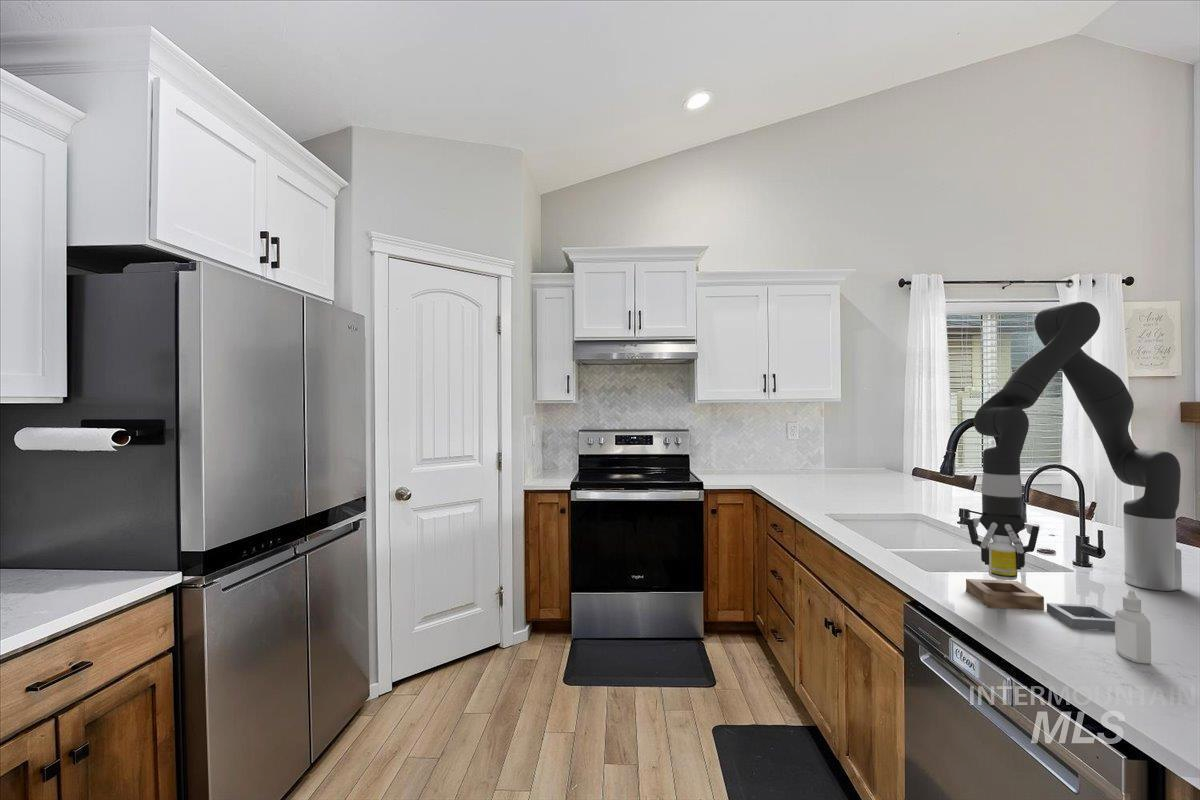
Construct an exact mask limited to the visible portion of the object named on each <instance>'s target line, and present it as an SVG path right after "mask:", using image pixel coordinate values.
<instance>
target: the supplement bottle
mask: <svg viewBox="0 0 1200 800" xmlns="http://www.w3.org/2000/svg"><path fill="white" fill-rule="evenodd" d="M991 540H992V542H991V541H990V542H989V544H988V550H989V565H988V575H989V576H990V577H992V578H994V579H996V580H1005V581H1017V579H1018V569H1017V549H1016V547H1015V545H1014V544H1013V542H1012V540H1011V538H1010V536H1002V535H993V536H992V538H991Z"/></svg>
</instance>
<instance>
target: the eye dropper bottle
mask: <svg viewBox="0 0 1200 800" xmlns="http://www.w3.org/2000/svg"><path fill="white" fill-rule="evenodd" d="M1114 616H1115V631H1114V645H1115V646H1114V647H1115V651H1116V653H1117V654H1118V655H1119V656H1121V657H1122V658H1124V659H1125V660H1128V661H1130V660H1131V662H1133V663H1136V664H1144V665H1145V664H1147V665H1149V664H1151V663H1152V636H1151V635H1152V631H1151V629H1152V628H1151V627H1152V626H1151V621H1150V619H1149V618H1148V617H1147V615H1145V613H1144V612H1142V599H1141V598H1140V597H1137V595H1136V592H1135V590H1133V589H1129V590H1128V593H1127V595H1123V596H1122V608H1121V607H1120V608H1118V609H1117V608H1116V609H1115V611H1114Z"/></svg>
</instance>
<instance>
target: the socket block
mask: <svg viewBox="0 0 1200 800" xmlns="http://www.w3.org/2000/svg"><path fill="white" fill-rule="evenodd" d="M965 592H966V593H968V594H969V595H971V596H972V597H973V598H975V599H976V600H977V601H979V602H980V603H981V604H983V605H984V606H985V607H987V608H989V609H1005V608H1006V609H1007V610H1009V609H1010V610H1024V609H1026V610H1027V611H1028V610H1029V611H1043V612H1044V611H1045V596H1043V595H1042V594H1040V593H1038V592H1037V591H1035V590H1034V589H1031V588H1030V587H1028V586H1026V585H1025V584H1023V583H1021V582H1019V580H1002V579H981V578H980V579H979V578H978V579H977V578H976V579H975V578H965Z"/></svg>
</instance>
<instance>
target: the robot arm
mask: <svg viewBox="0 0 1200 800" xmlns="http://www.w3.org/2000/svg"><path fill="white" fill-rule="evenodd" d="M1100 323H1101V315H1100V311H1099V310H1098V309H1097V307H1096V306H1095V305H1093V304H1092V303H1091V302H1087V301H1076V302H1075V301H1074V302H1069V303H1065V304H1061V305H1055V306H1054V305H1053V306H1050V307H1046V308H1043V309H1041V310H1039V311H1038V312H1037V313H1036V315H1035V317H1034V329H1035V332H1036V334H1037V336H1038V338H1039V340H1040V341H1041V343H1042V345H1043V346H1044V347H1043V348H1041V349H1040V350H1038V351H1037V352H1036V353H1034V354H1033V355H1031V356H1030V357H1029V358H1027V359H1026V360H1025V361H1024V362H1022V363H1021V364H1020V365H1019V366H1018V367H1017V368H1016V369H1015V370H1014V371H1013V373H1012V374H1011V375H1010V376H1009V378H1008V380H1007V381H1006V382H1005V384H1004V385H1003V386H1002V388H1001V389H1000V390H999V391H997V392H996V393H995V394H993V395H992V396H991V397H990V398H989V399H987V400H986V401H985V402H984V403H983V404H982V405H981V406H980V407H979V408H978V409H977V411H976V412H975V414H974V417H973V425H974V428H975V431H977V433H978V434H980V435H982V436H985V437H998V438H999V441H998V443H997V445H996V446H992V447H987V448H985V449H984V450H983V452H982V479H981V488H980V489H981V510H982V511H981V516H980V517H977V518H976V517H975V518H974V517H968V518H967V519H966V525H967V530H968V534H969V537H970V543H971V544H972V545H976V546H978V547H979V548H980V560H981V562H982V563H984V565H987V566H989V550H988V547H989V544H990V543H991V540H992V536H993V535H1002V536H1010V538H1011V540H1012V544H1013V545H1015V547H1016V549H1017V571H1018V570H1020V571H1021V570H1022V568H1024V567H1025V565H1026V553H1032V552H1034V551H1035V549H1036V546H1037V541H1038V537H1039V532H1040V527H1041V526H1040V525H1039V524H1032V523H1027V522H1026V521H1025V520H1024V518H1023V486H1022V485H1023V483H1022V479H1021V478H1022V477H1021V454H1022V453H1023V452H1022V451H1023V448H1024V444H1025V441H1026V438H1027V435H1028V433H1029V428H1030V421H1029V417H1028V415H1027V413H1026V412H1025V411H1024V410H1026V409H1030V408H1031V407H1032V406H1034V404H1035V403H1036V402H1037V401H1038V399H1039V397H1041V394H1042V393H1043V392H1044V391H1045V389H1046V387H1048V385H1049V383H1050V382H1051V381H1052V379H1053V378H1054V377H1055V375H1057V373H1058V372H1059V371H1060V370H1061V371H1062V373H1063V374H1064V377H1066V380H1067V381H1068V383H1069V384H1070V386H1071V388H1072V390H1073V391H1074V394H1075V397H1076V398H1077V400H1078V401H1079V403H1080V405H1081V407H1082V408H1083V410H1084V412H1085V414H1086V416H1087V417H1088V418H1089V420H1090V423H1091V424H1092V426H1093V428H1094V430H1095V431H1096V433H1097V436H1098V437H1099V440H1100V442H1101V444H1102V447H1103V449H1104V452H1105V454H1106V456H1107V459H1108V461H1109V463H1110V464H1109V465H1110V467H1111V468H1112V471H1113V473H1114V475H1115V476H1116V478H1117V479H1118V480H1119V481H1120V482H1121V483H1123V484H1126V485H1128V486H1134V487H1140V488H1144V493H1143V496H1141V497H1140V498H1137V499H1131V500H1127V501H1124V503H1123V507H1122V508H1123V509H1122V510H1123V548H1124V549H1123V551H1124V552H1123V553H1124V554H1123V555H1124V556H1123V561H1124V567H1123V568H1124V582H1125V583H1126V584H1129V585H1131V586H1134V587H1138V588H1141V589H1148V590H1153V591H1164V592H1171V591H1173V592H1174V591H1177V590H1179V591H1180V590H1181V591H1182V590H1183V577H1182V576H1183V573H1182V572H1183V571H1182V569H1183V568H1182V565H1183V564H1182V550H1181V549H1179V548H1177V518H1176V514H1177V513H1176V512H1177V510H1178V508H1179V505H1180V491H1181V473H1182V472H1181V471H1182V470H1181V465H1180V462H1179V460H1178V458H1177V457H1176V456H1175V455H1174V454H1173V453H1171V452H1170V451H1164V450H1155V449H1153V450H1151V449H1140V448H1138V447H1137V446H1136V444H1135V443H1134V441H1133V439H1132V438H1131V437H1132V436H1131V435H1130V433H1129V426H1130V422H1131V419H1132V416H1133V413H1134V408H1135V407H1134V406H1135V403H1134V400H1133V398H1132V394H1130V391H1129V390H1128V388H1127V386H1126V384H1125V382H1124V381H1123V379H1121V377H1120V376H1119V375H1118V374H1116V373H1115V372H1114V371H1113V370H1111V369H1110V368H1109V367H1107V366H1105V365H1104V364H1102V363H1101V362H1099V361H1097V360H1095V359H1094V358H1093V357H1091V356H1090V355H1088V354H1087V353H1086V352H1085V351H1084V350H1083V349H1082V348H1083V347H1084V345H1086V344H1087V343H1088V342H1089V341H1090V340H1091V339H1092V338H1093V337H1094V336H1095V334H1096V333H1097V331H1098V330H1099V327H1100ZM979 524H981V525H982V526H983V527H984V529H985V530H986V531H987V532H986V533H985V534H984V537H983V539H979V538H980V537H979V535H978V530H977V528H978V527H979V526H980V525H979ZM1024 528H1025V529H1026V532H1027V534H1029V535H1030V536H1029V541H1028V544H1027V545H1024V544H1023V542H1022V539H1021V537H1020V535H1019V533H1020V532H1021V531H1022V530H1023V529H1024Z"/></svg>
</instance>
